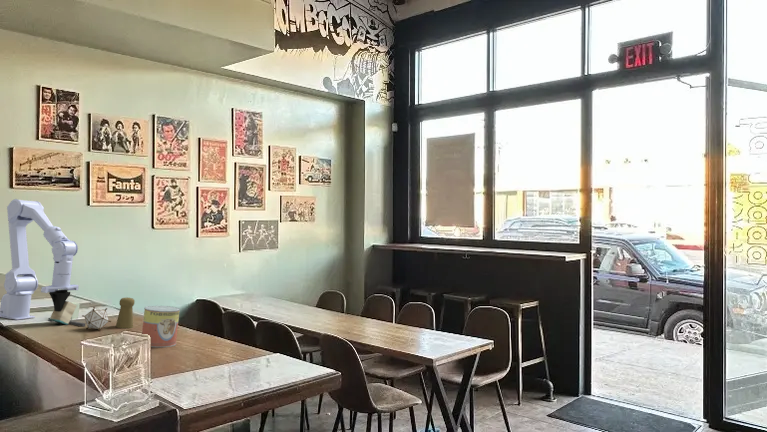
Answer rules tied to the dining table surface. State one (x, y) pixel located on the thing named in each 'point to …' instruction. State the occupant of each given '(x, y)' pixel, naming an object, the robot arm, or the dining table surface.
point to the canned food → (161, 325)
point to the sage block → (76, 312)
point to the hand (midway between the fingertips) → (57, 311)
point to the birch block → (63, 313)
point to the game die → (96, 318)
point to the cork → (125, 313)
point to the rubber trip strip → (73, 323)
